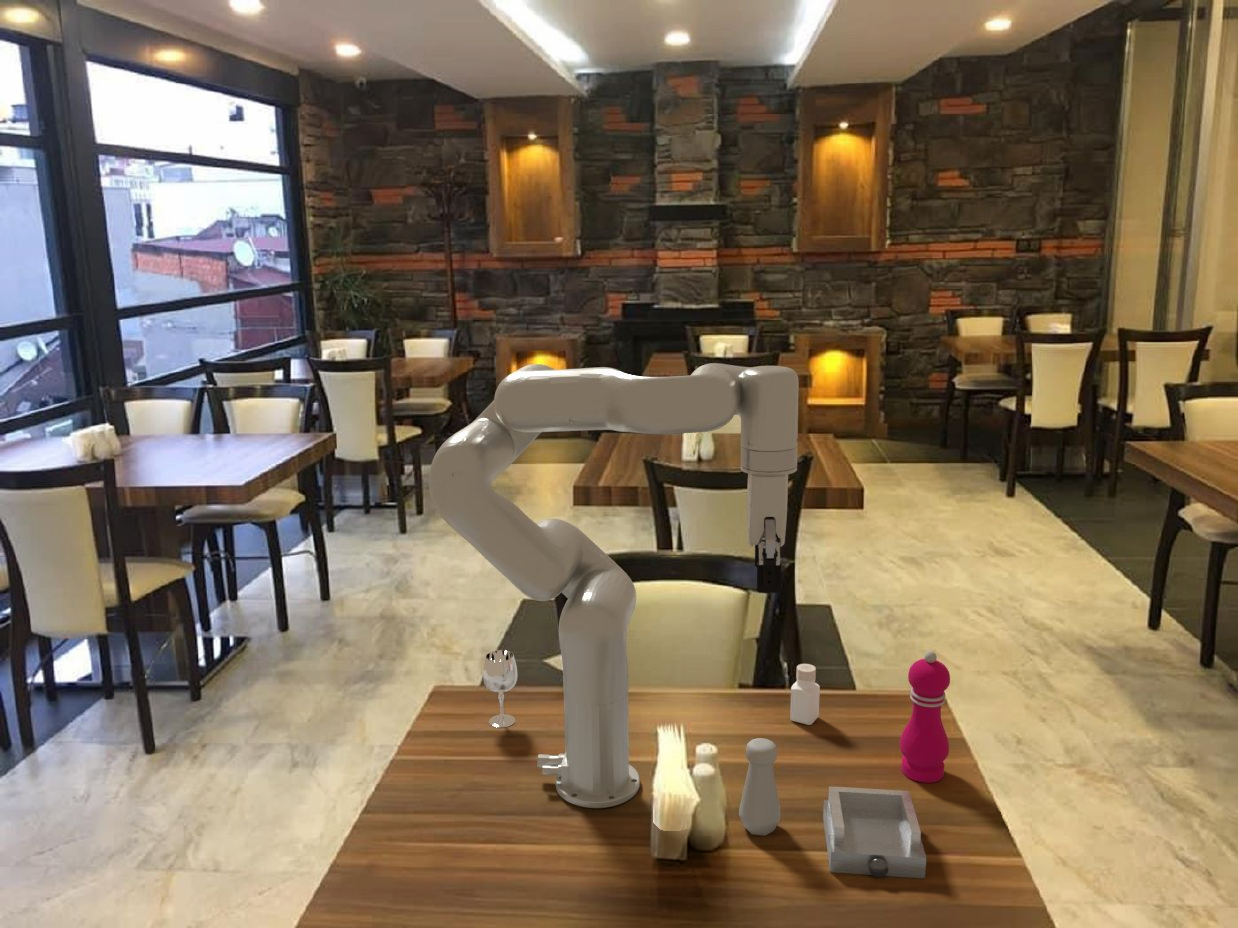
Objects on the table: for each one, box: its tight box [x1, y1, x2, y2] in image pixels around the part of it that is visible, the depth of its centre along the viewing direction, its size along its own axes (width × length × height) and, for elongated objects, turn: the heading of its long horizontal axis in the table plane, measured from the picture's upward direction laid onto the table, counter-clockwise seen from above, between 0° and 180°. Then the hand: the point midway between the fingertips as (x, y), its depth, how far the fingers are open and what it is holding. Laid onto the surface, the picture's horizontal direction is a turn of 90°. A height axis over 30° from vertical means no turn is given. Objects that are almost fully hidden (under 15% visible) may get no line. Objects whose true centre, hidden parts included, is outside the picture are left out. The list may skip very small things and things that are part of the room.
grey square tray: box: [822, 786, 927, 880], centre depth 134 cm, size 12×13×6 cm
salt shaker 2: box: [789, 663, 821, 726], centre depth 169 cm, size 4×4×10 cm
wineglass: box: [482, 649, 518, 729], centre depth 169 cm, size 6×6×12 cm
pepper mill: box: [899, 650, 951, 784], centre depth 151 cm, size 7×7×20 cm
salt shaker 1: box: [738, 737, 782, 837], centre depth 139 cm, size 6×6×13 cm
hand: (767, 579), depth 139 cm, fingers open, 9 cm apart
